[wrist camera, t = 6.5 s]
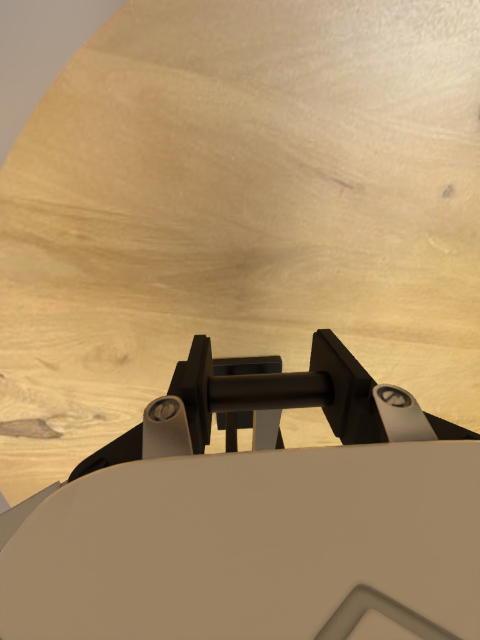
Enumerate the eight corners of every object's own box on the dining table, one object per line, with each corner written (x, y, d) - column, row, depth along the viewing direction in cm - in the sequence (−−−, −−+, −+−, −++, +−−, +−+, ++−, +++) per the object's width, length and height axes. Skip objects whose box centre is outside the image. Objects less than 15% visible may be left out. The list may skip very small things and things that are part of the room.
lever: (208, 360, 10) (205, 412, 9) (322, 355, 11) (343, 404, 9) (227, 483, 21) (227, 518, 19) (284, 479, 21) (290, 513, 19)
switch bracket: (212, 359, 28) (198, 477, 15) (280, 355, 28) (322, 469, 15) (218, 423, 32) (211, 558, 19) (277, 419, 32) (309, 551, 19)
